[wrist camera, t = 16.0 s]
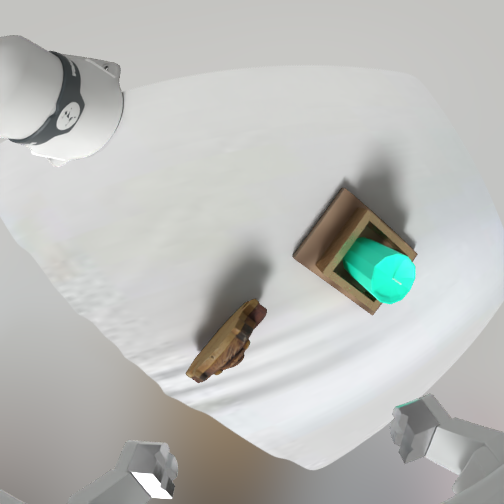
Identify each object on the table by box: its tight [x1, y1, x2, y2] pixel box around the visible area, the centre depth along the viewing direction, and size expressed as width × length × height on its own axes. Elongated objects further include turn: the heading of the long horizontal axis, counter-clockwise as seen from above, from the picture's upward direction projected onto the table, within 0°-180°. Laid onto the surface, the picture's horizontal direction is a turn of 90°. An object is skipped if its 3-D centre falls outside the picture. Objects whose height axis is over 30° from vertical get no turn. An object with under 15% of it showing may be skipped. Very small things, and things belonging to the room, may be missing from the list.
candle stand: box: [293, 188, 417, 316], centre depth 38 cm, size 16×12×6 cm
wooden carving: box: [186, 299, 267, 383], centre depth 38 cm, size 16×5×10 cm, turn 146°
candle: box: [342, 237, 415, 304], centre depth 34 cm, size 6×6×12 cm
